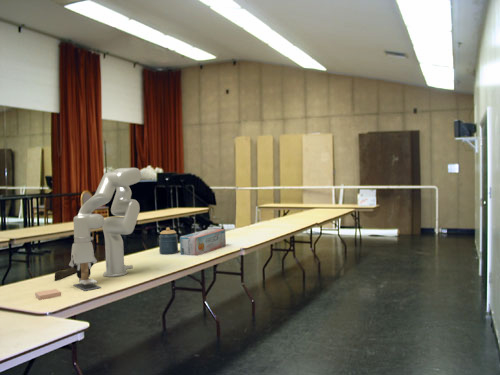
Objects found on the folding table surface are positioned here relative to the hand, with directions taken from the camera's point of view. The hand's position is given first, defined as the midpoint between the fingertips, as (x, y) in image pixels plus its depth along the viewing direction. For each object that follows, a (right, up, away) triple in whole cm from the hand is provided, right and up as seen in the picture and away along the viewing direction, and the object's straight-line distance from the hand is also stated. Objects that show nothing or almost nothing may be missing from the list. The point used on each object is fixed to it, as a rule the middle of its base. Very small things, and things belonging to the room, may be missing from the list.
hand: (83, 276), depth 218 cm
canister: (+26, -1, +86) cm, 90 cm away
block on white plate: (+3, -2, -3) cm, 4 cm away
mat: (+3, -4, -3) cm, 6 cm away
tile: (-12, -4, -15) cm, 20 cm away
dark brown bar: (-18, -5, +21) cm, 28 cm away
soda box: (+50, 0, +93) cm, 106 cm away
